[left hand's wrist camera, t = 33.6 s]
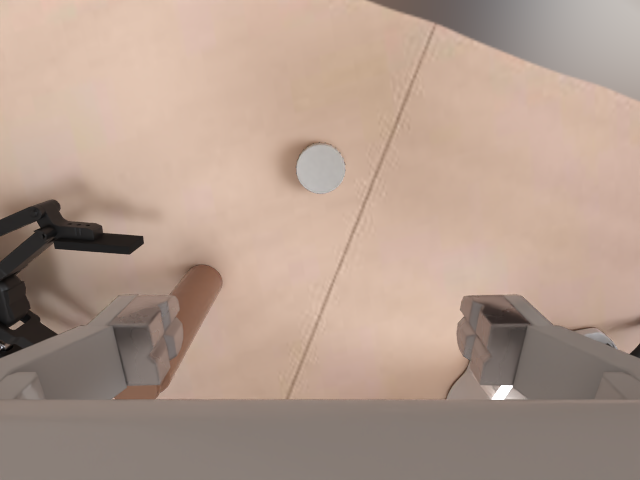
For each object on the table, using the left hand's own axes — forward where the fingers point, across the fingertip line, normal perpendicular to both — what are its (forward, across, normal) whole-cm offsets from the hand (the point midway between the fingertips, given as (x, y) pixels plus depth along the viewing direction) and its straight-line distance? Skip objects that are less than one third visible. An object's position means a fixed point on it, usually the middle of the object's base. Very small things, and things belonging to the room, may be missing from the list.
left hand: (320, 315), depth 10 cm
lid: (+26, 0, 0) cm, 26 cm away
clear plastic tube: (+28, +13, +13) cm, 33 cm away
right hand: (+22, +17, +13) cm, 31 cm away
